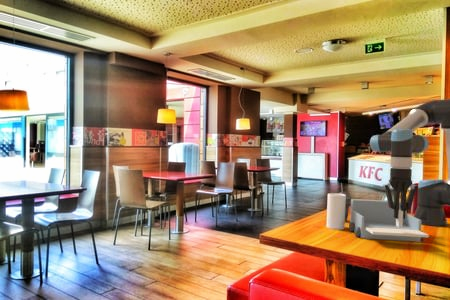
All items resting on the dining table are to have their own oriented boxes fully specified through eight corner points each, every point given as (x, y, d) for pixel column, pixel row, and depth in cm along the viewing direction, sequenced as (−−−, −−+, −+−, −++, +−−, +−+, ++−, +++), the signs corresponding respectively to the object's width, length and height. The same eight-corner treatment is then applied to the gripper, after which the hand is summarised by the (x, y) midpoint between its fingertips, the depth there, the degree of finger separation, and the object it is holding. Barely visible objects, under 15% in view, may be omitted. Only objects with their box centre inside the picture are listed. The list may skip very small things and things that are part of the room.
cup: (342, 225, 162) (343, 193, 161) (346, 230, 154) (347, 196, 153) (325, 224, 162) (326, 192, 162) (328, 229, 154) (329, 195, 154)
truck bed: (406, 230, 155) (407, 201, 155) (424, 241, 137) (425, 208, 137) (346, 227, 158) (347, 198, 158) (357, 237, 140) (358, 205, 140)
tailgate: (418, 230, 137) (428, 234, 128) (418, 232, 137) (428, 237, 128) (365, 227, 139) (372, 231, 130) (365, 229, 139) (372, 234, 130)
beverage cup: (351, 222, 169) (352, 184, 168) (336, 221, 170) (337, 183, 170) (348, 219, 176) (349, 182, 176) (334, 218, 177) (335, 181, 177)
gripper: (413, 167, 134) (412, 225, 134) (380, 166, 135) (378, 223, 136) (422, 169, 126) (420, 229, 127) (387, 168, 128) (385, 228, 128)
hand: (399, 226), depth 131 cm, fingers closed
